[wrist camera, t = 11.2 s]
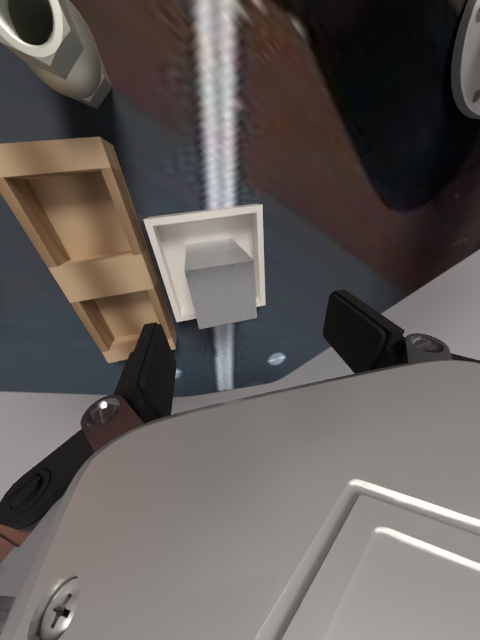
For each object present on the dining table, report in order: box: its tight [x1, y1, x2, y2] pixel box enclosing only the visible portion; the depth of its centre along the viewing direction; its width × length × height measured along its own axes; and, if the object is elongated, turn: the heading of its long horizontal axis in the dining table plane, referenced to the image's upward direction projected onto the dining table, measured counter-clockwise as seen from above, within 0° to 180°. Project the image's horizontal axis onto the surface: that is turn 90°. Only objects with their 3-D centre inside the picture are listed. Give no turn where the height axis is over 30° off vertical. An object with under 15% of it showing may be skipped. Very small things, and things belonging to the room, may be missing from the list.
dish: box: [144, 204, 265, 322], centre depth 22 cm, size 11×11×2 cm
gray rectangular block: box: [185, 238, 257, 329], centre depth 19 cm, size 5×5×9 cm
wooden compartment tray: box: [0, 137, 177, 363], centre depth 20 cm, size 8×20×3 cm, turn 6°
